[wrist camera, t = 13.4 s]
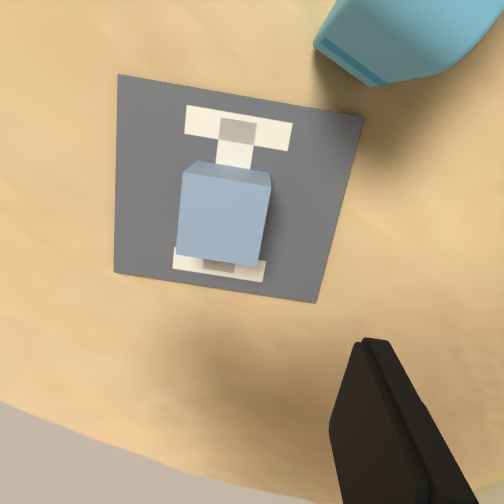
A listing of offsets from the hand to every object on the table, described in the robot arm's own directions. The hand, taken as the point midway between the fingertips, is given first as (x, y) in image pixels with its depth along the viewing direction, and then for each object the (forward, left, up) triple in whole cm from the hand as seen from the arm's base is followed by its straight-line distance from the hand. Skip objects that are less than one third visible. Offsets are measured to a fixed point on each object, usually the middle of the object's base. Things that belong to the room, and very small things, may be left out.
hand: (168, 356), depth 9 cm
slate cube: (0, 0, -18) cm, 18 cm away
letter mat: (0, 0, -18) cm, 18 cm away
